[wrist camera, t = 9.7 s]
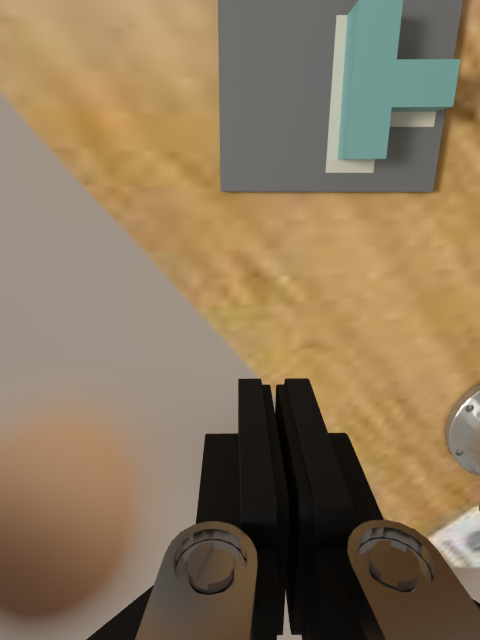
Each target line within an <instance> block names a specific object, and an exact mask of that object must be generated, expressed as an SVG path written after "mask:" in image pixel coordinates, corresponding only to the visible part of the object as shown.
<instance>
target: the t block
mask: <svg viewBox="0 0 480 640" xmlns="http://www.w3.org/2000/svg"><path fill="white" fill-rule="evenodd" d="M402 6H403V0H358V1H357V3H356V4H355V5H354V7H353V8H352V9H351V11H350V12H349V13H348V15H347V28H346V43H345V57H344V72H343V86H342V101H341V115H340V130H339V144H338V159H337V160H349V159H386V156H387V147H388V137H389V128H390V119H391V112H435V111H439V110H443V109H446V108H450V107H453V105H454V98H455V92H456V85H457V79H458V72H459V66H460V59H399V60H397V53H398V44H399V34H400V25H401V16H402Z"/></svg>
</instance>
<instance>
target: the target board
mask: <svg viewBox="0 0 480 640" xmlns="http://www.w3.org/2000/svg"><path fill="white" fill-rule="evenodd" d="M357 1H358V0H218V29H219V102H220V175H221V191H307V192H433V188H434V181H435V175H436V169H437V162H438V156H439V150H440V143H441V137H442V131H443V124H444V118H445V112H446V109H443V110H439V111H435V112H391V119H390V128H389V137H388V147H387V156H386V159H349V160H337V159H338V144H339V130H340V115H341V101H342V86H343V72H344V57H345V43H346V28H347V15H348V13H349V12H350V11H351V9H352V8H353V7H354V5H355V4H356V3H357ZM462 4H463V0H403V6H402V16H401V25H400V34H399V44H398V53H397V60H399V59H454V54H455V48H456V42H457V35H458V29H459V23H460V16H461V10H462Z"/></svg>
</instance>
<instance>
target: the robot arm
mask: <svg viewBox="0 0 480 640" xmlns="http://www.w3.org/2000/svg"><path fill="white" fill-rule="evenodd" d="M238 383H239V384H238V386H239V387H238V391H239V393H238V395H239V399H238V402H239V403H238V405H239V406H238V407H239V408H238V414H239V415H238V424H239V425H238V427H239V428H238V431H239V432H238V434H206V435H205V443H204V453H203V462H202V471H201V472H202V473H201V481H200V490H199V501H198V510H197V519H196V524H195V525H192V526H191V527H189V528H187V529H185V530H184V531H182V532H180V534H178V535H177V537H175V538H174V540H172V542H171V543H170V545H169V547H168V549H167V551H166V553H165V555H164V558H163V561H162V564H161V567H160V569H159V572H158V575H157V578H156V581H155V584H154V585H153V586H152V587H151V588H149V589H148V590H147V591H146V592H145V593H143V594H142V595H141V596H140V597H138V598H137V599H136V600H135V601H133V602H132V603H131V604H130V605H128V606H127V607H126V608H125V609H124V610H122V611H121V612H120V613H119V614H118V615H116V616H115V617H114V618H112V619H111V620H110V621H109V622H107V623H106V624H105V625H104V626H103V627H101V628H100V629H99V630H98V631H96V632H95V633H94V634H93V635H92V636H91V637H89V638H88V639H87V640H277V635H283V623H284V622H283V621H284V604H285V589H286V598H287V605H288V614H289V622H290V629H291V634H292V635H302V640H480V604H479V603H478V602H476V601H475V600H473V599H472V598H471V597H470V595H469V594H468V592H467V591H466V590H465V588H464V587H463V585H462V584H461V583H460V581H459V580H458V578H457V577H456V576H455V574H454V573H453V571H452V570H451V568H450V567H449V565H448V564H447V563H446V561H445V560H444V558H443V557H442V555H441V554H440V553H439V551H438V550H437V549H436V548H435V547H434V545H433V544H432V543H431V542H430V541H429V540H428V539H427V538H426V537H424V536H423V535H422V534H420V533H419V532H418V531H416V530H415V529H412V528H410V527H408V526H406V525H404V524H402V523H398V522H394V521H389V520H384V519H383V517H382V515H381V512H380V510H379V508H378V505H377V503H376V500H375V498H374V496H373V493H372V491H371V489H370V486H369V484H368V481H367V479H366V477H365V474H364V472H363V470H362V467H361V465H360V463H359V460H358V458H357V455H356V453H355V451H354V448H353V446H352V444H351V441H350V439H349V437H348V435H347V434H346V433H328V432H327V429H326V426H325V424H324V421H323V418H322V415H321V412H320V409H319V406H318V404H317V401H316V398H315V395H314V392H313V389H312V386H311V384H310V381H309V379H285V383H284V385H277V386H276V406H275V407H276V408H275V412H274V406H273V400H272V394H271V387H270V385H262V382H261V379H239V381H238ZM445 438H446V445H447V447H448V450H449V452H450V454H451V455H452V456H453V458H454V459H455V461H456V462H457V463H458V464H459V465H460V466H461V467H462V468H464V469H465V470H467V471H468V472H470V473H472V474H475V475H477V476H480V384H479V385H477V386H476V387H474V388H473V389H471V390H470V391H469V392H468V393H466V394H465V395H464V396H463V397H462V398H461V399H460V400H459V402H458V403H457V404H456V405H455V407H454V408H453V410H452V412H451V414H450V416H449V418H448V421H447V424H446V431H445ZM479 511H480V505H479Z"/></svg>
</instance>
